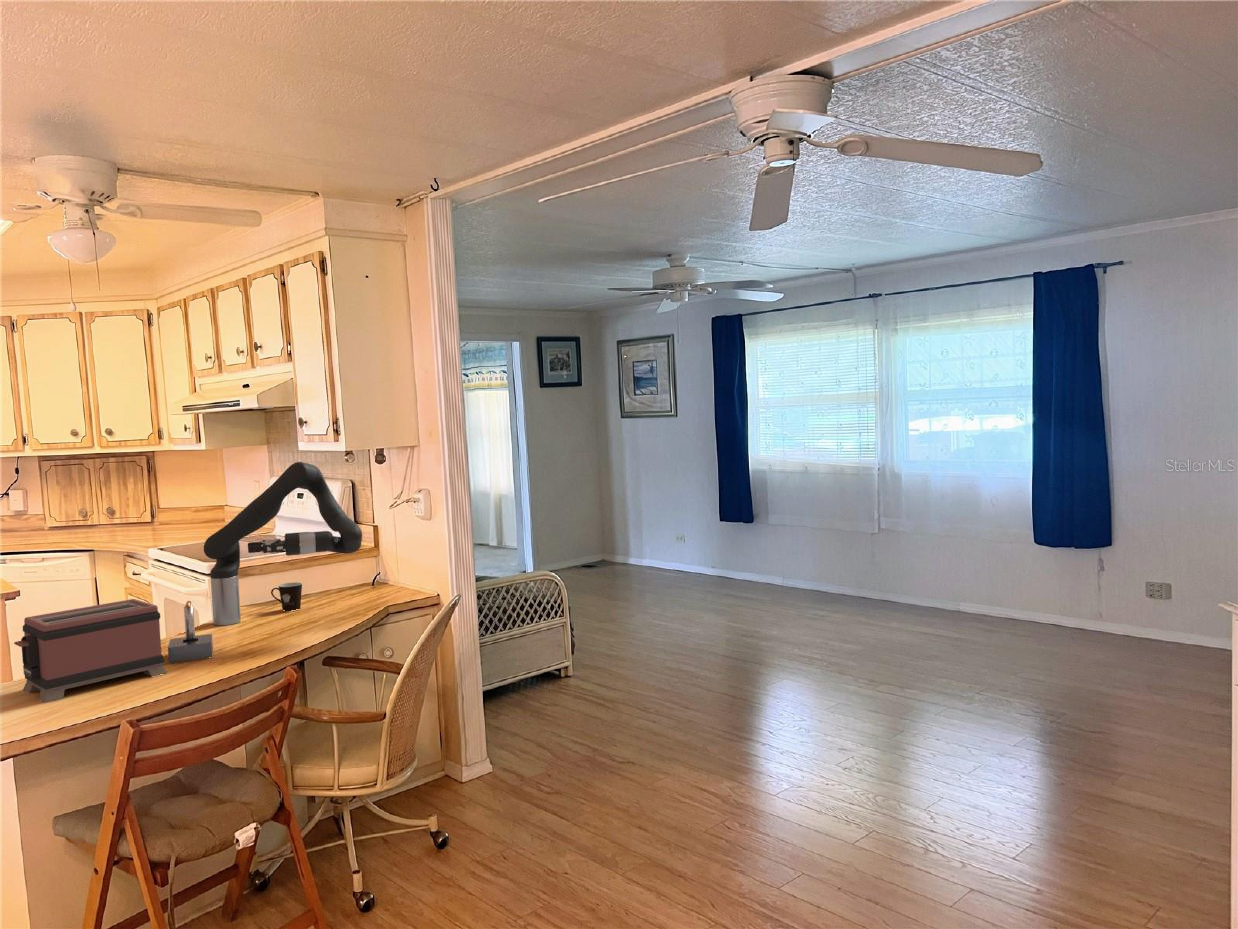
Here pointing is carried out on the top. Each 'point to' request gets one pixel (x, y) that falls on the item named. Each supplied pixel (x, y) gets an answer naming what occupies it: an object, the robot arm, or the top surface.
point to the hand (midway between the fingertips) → (247, 547)
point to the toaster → (90, 646)
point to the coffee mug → (289, 595)
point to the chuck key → (189, 622)
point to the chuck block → (190, 648)
